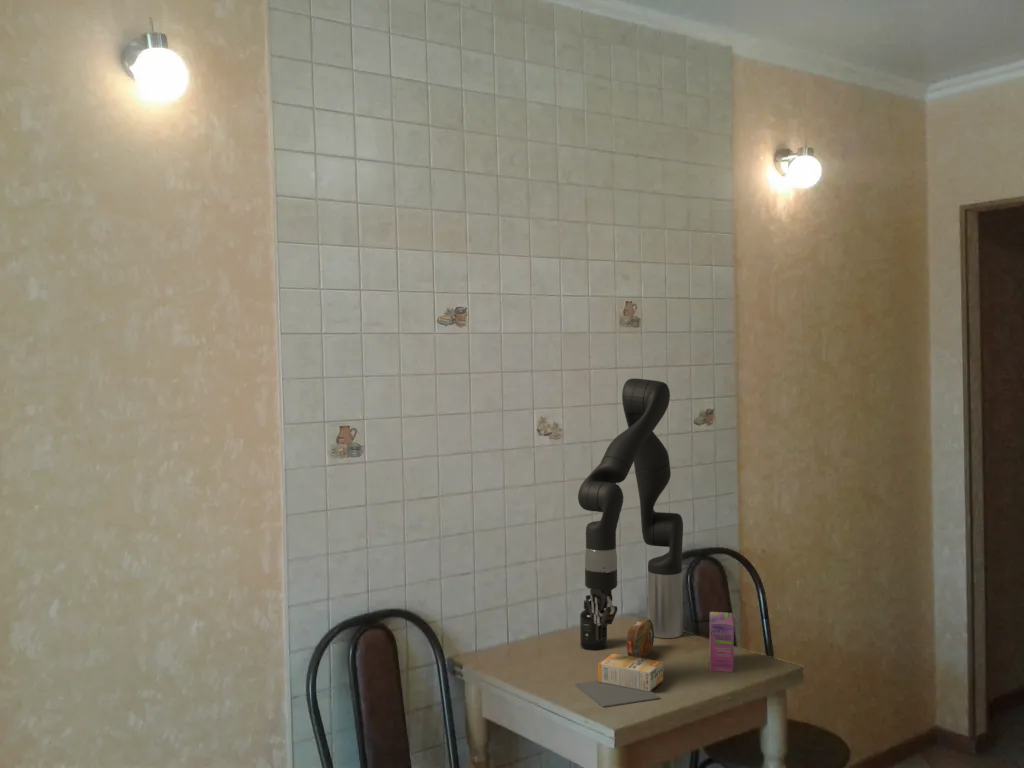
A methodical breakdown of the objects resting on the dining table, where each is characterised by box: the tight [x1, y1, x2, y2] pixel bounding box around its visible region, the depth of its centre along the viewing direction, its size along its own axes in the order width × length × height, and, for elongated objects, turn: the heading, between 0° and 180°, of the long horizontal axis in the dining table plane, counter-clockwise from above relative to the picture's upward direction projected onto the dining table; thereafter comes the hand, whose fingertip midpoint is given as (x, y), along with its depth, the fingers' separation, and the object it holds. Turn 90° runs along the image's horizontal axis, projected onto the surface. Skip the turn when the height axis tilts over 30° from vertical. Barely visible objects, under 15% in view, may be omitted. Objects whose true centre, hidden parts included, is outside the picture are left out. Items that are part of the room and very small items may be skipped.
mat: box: [574, 679, 661, 708], centre depth 212 cm, size 15×14×1 cm
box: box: [709, 611, 735, 674], centre depth 229 cm, size 10×6×12 cm, turn 168°
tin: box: [626, 619, 655, 659], centre depth 238 cm, size 15×3×8 cm, turn 154°
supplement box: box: [597, 653, 664, 692], centre depth 218 cm, size 8×5×13 cm
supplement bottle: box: [579, 599, 607, 651], centre depth 245 cm, size 7×7×12 cm
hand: (601, 640), depth 219 cm, fingers closed
